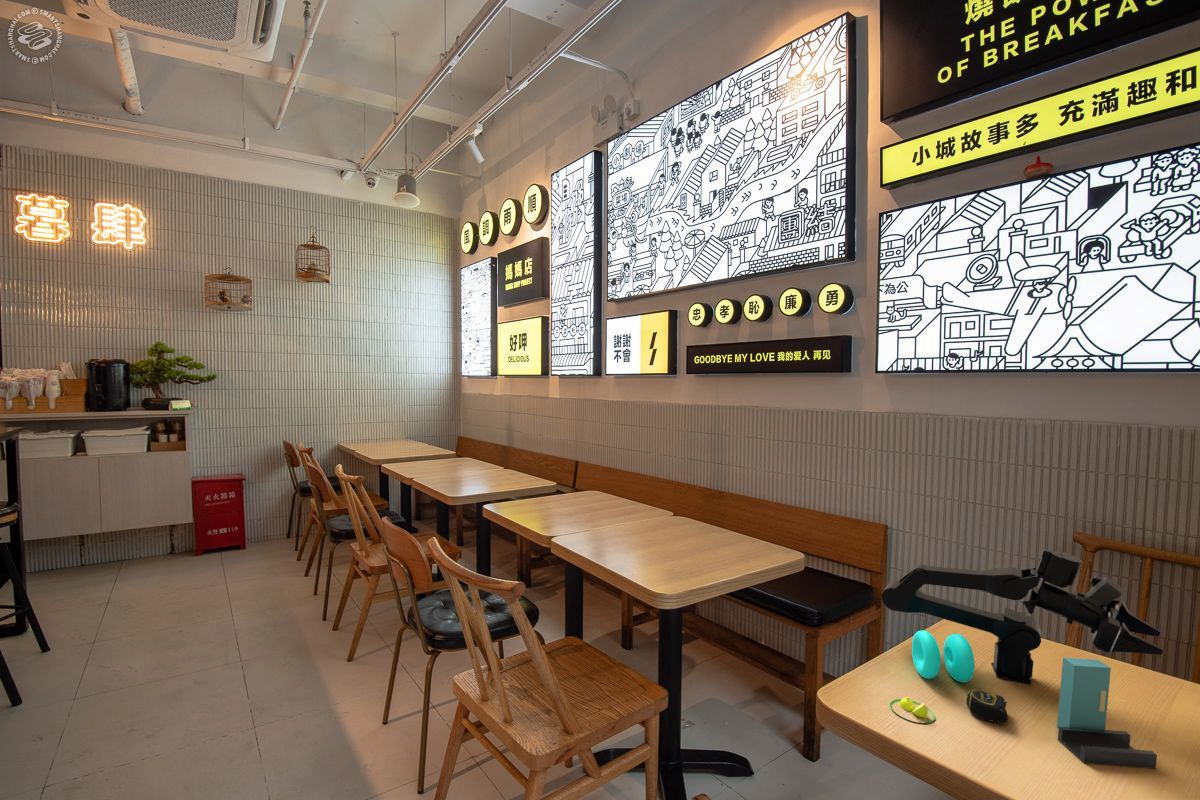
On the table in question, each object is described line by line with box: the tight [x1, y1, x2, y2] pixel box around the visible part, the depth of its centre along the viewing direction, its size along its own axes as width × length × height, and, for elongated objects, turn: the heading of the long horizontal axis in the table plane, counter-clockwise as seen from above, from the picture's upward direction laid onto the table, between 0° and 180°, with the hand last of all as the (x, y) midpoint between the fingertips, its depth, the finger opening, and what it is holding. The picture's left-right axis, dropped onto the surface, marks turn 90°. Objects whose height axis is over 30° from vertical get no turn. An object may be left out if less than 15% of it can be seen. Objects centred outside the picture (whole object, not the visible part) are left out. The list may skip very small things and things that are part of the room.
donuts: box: [911, 630, 975, 683], centre depth 130 cm, size 10×10×10 cm
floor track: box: [1057, 727, 1158, 770], centre depth 105 cm, size 6×12×3 cm, turn 86°
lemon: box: [890, 696, 936, 724], centre depth 116 cm, size 8×8×3 cm
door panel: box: [1056, 657, 1112, 730], centre depth 111 cm, size 3×6×14 cm, turn 86°
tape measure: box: [965, 689, 1009, 724], centre depth 116 cm, size 7×7×4 cm
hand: (1161, 643), depth 116 cm, fingers open, 9 cm apart
